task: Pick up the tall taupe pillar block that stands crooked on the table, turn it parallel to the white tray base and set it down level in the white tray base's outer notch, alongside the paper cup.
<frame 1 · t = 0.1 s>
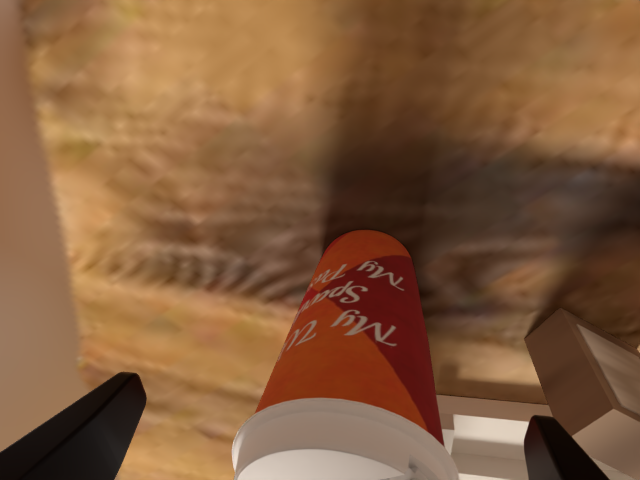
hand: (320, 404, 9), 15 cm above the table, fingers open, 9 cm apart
white tray base: (558, 431, 29), on the table
tall taupe pillar block: (579, 343, 25), on the table
paper cup: (365, 268, 25), on the table
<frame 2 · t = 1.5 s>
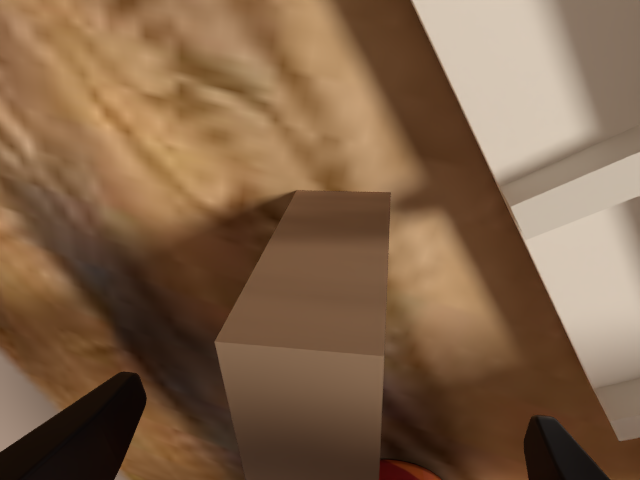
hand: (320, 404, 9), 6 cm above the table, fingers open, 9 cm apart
white tray base: (587, 139, 11), on the table
tall taupe pillar block: (344, 264, 14), on the table
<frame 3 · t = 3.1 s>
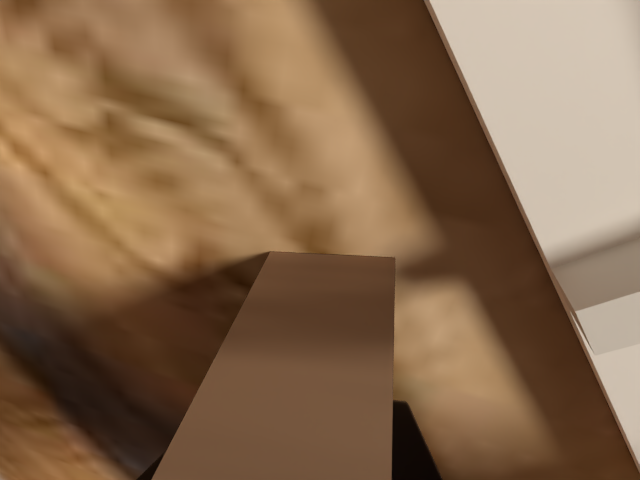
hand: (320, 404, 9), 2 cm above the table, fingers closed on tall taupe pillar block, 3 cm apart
tall taupe pillar block: (334, 341, 11), on the table, touching gripper
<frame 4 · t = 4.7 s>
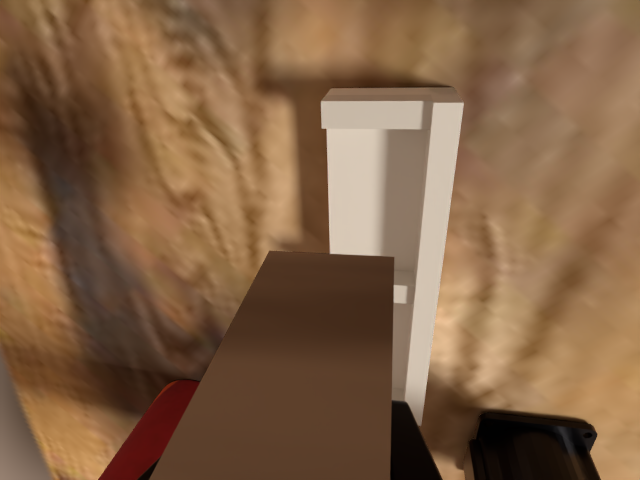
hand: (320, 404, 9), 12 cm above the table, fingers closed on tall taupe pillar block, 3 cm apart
white tray base: (382, 261, 21), on the table
tall taupe pillar block: (333, 340, 11), point 10 cm above the table, touching gripper
paper cup: (199, 404, 30), on the table
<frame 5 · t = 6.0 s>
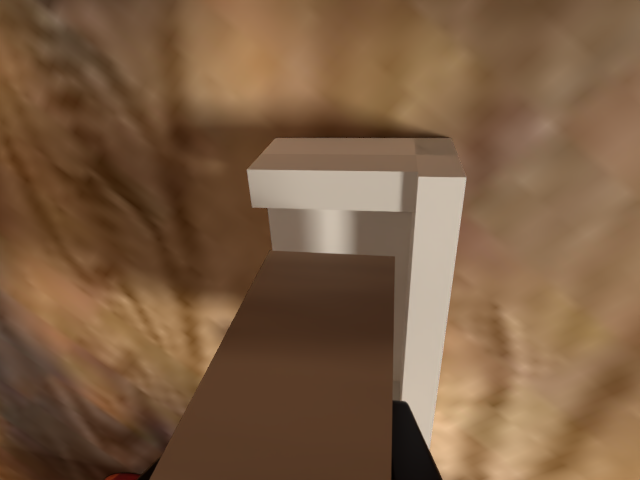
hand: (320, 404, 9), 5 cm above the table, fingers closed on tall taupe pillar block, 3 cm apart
white tray base: (359, 356, 16), on the table
tall taupe pillar block: (334, 340, 11), point 3 cm above the table, touching gripper
when the fingers open (5 cm above the table, at t = 6.7 s): tall taupe pillar block drops 1 cm, resting on white tray base.
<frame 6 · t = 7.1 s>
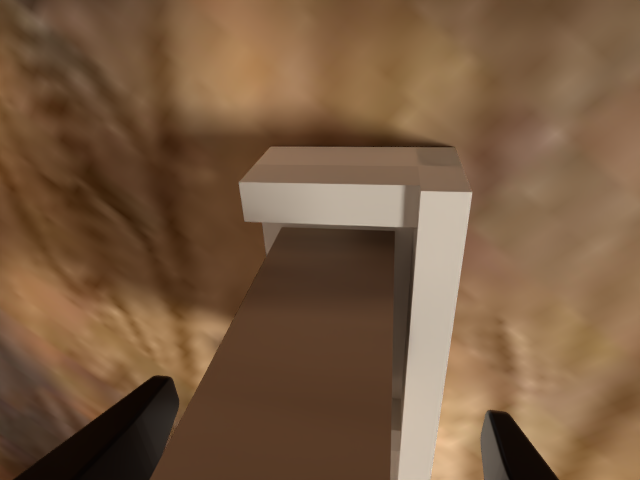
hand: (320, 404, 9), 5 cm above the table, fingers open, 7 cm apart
white tray base: (359, 370, 15), on the table
tall taupe pillar block: (339, 311, 12), point 1 cm above the table, touching white tray base
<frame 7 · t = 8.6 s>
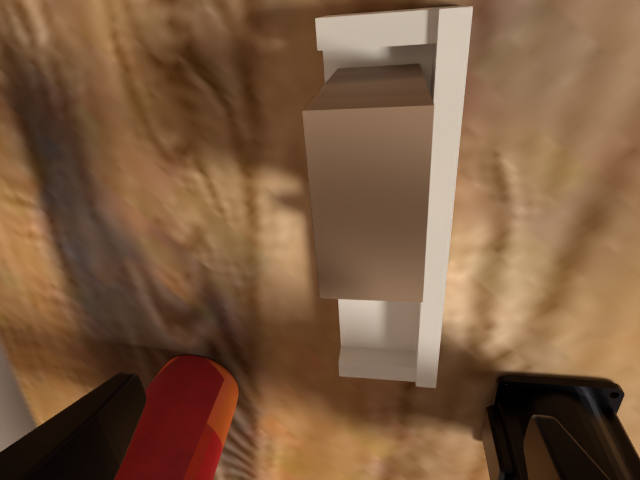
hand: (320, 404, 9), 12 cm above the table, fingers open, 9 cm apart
white tray base: (389, 211, 20), on the table
tall taupe pillar block: (378, 138, 17), point 1 cm above the table, touching white tray base
paper cup: (202, 382, 29), on the table
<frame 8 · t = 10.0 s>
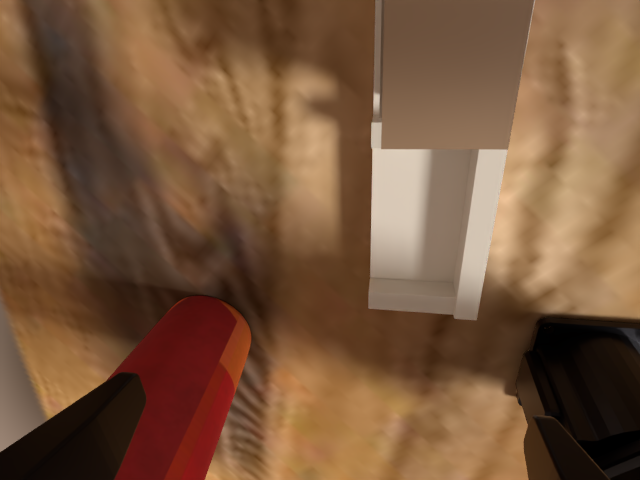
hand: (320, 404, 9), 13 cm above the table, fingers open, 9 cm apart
white tray base: (432, 118, 18), on the table
tall taupe pillar block: (432, 15, 15), point 1 cm above the table, touching white tray base
paper cup: (212, 328, 27), on the table
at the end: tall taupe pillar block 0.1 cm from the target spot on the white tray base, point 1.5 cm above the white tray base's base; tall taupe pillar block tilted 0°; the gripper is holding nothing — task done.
